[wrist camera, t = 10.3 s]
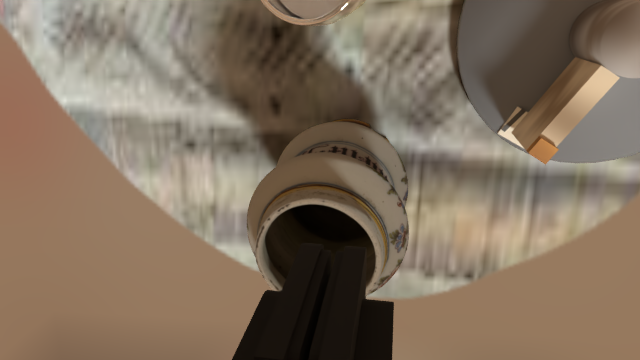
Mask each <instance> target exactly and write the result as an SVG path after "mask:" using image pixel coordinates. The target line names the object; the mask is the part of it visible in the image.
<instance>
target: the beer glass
mask: <svg viewBox="0 0 640 360" xmlns="http://www.w3.org/2000/svg"><path fill="white" fill-rule="evenodd" d="M365 1H366V0H261V2H262V3H263V4H264V6H265V7H266V8H267V9H268V10H269V11H270V12H271V13H273V14H274V15H275V16H277V17H278V18H280V19H282V20H284V21H286V22H289V23H292V24H297V25H307V26H322V25H329V24H332V23H335V22H337V21H340V20H342V19H343V18H345V17H347V16H348V15H349V14H351V13H352V12H353V11H355V10H356V9H358V8H359V7H360V6H362V5H363V4H364V3H365Z"/></svg>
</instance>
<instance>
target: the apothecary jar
mask: <svg viewBox="0 0 640 360" xmlns="http://www.w3.org/2000/svg"><path fill="white" fill-rule="evenodd" d="M407 196H408V180H407V175H406V171H405V168H404V165H403V162H402V160H401V158H400V156H399V155H398V153H397V151H396V150H395V149H394V147H393V146H392V145H391V144H390V143H389V141H388V140H387V138H386V137H383V136H381V135H380V134H378V133H377V132H375V131H373V130H372V129H371V127H370V125H369V124H367V123H365V122H362V121H358V120H353V119H341V120H335V121H332V122H327V123H322V124H318V125H315V126H313V127H310V128H308V129H306V130H305V131H303V132H301V133H300V134H299V135H297V136H296V137H295V138H294V139H293V140H292V141H291V142H290V143H289V144H288V145H287V146H286V148H285V149H284V151H283V152H282V154H281V156H280V158H279V161H278V163H277V167H276V168H275V169H273V170H272V171H271V172H270V173H269V174H267V175H266V176H265V178H264V179H263V180H262V181H261V182H260V184H259V185H258V187H257V188H256V190H255V192H254V194H253V196H252V198H251V201H250V204H249V208H248V214H247V232H248V238H249V242H250V245H251V248H252V251H253V253H254V255H255V257H256V261H257V265H258V268H259V270H260V272H261V274H262V276H263V278H264V279H265V281H266V282H267V284H268V285H269V286H270V287H271V288H272V289H273V291H281V290H282V288H283V286H284V283H285V281H286V279H287V276H288V274H289V271H290V269H291V267H292V264H293V262H294V260H295V257H296V255H297V252H298V250H299V248H300V245H301V244H302V243H313V244H323V246H324V250H330V251H331V270H332V266H333V262H334V259H335V255H336V252H337V251H344V249H345V246H353V247H366V248H367V262H366V296H367V295H369V294H371V293H373V292H374V291H376V290H378V289H379V288H380V287H382V286H383V285H384V284H386V283H387V282H388V281H389V280H390V278H391V277H392V276H393V275H394V274H395V272H396V271H397V270H398V268H399V266H400V265H401V263H402V261H403V258H404V256H405V253H406V250H407V246H408V239H409V225H408V218H407V214H406V210H405V205H406V201H407Z"/></svg>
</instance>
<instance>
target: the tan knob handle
mask: <svg viewBox="0 0 640 360" xmlns="http://www.w3.org/2000/svg"><path fill="white" fill-rule="evenodd" d="M569 44H570V49H571V51H572V53H573V55H574V56H575V58H574V59H573V60H572V61H571V63H570V64H569V65H568V66H567V67H566V69H565V70H564V71H563V72H562V73H561V74H560V76H559V77H558V78H557V79H556V80H555V82H554V83H553V84H552V85H551V86H550V87H549V89H548V90H547V91H546V92H545V93H544V94H543V96H542V97H541V98H540V99H539V100H538V102H537V103H536V104H535V105H534V106H533V107H532V109H531V110H530V111H529V112H528V113H527V114H526V116H525V117H524V118H523V119H522V120H521V122H520V123H519V124H518V125H517V126H516V127H515V129H514V130H513V131H512V132H511V133H512V134H513V135H514V137H515V138H516V139H517V140H518V141H519V143H520V144H521V145H522V146H523V147H524V149H525V150H526V151H527V152H528V153H529V154H530V155H532V156H534V157H535V158H537V159H538V160H540V161H541V162H543V163H544V164H546V163H547V162H548V161H549V160H550V159H551V158H552V157H553V156H554V154H555V153H556V152H557V151H558V150H559V149H558V148H557V146H558V145H559V144H560V143H561V142H562V140H563V139H564V138H565V137H566V136H567V135H568V134H569V133H570V132H571V131H572V130H573V128H574V127H575V126H576V125H577V124H578V123H579V122H580V121H581V120H582V119H583V118H584V117H585V115H586V114H587V113H588V112H589V111H590V110H591V109H592V108H593V107H594V106H595V105H596V103H597V102H598V101H599V100H600V99H601V98H602V97H603V96H604V95H605V94H606V93H607V91H608V90H609V89H610V88H611V87H612V86H613V85H614V84H615V83H616V82H617V81H618V79H619V77H618V76H617V75H619V76H622V77H626V78H640V0H604V1H600V2H597V3H595V4H593V5H591V6H589V7H588V8H587V9H585V10H584V11H583V12H582V13H581V14H580V15H579V16H578V17H577V19H576V20H575V22H574V23H573V25H572V28H571V31H570V35H569ZM615 74H616V75H615Z"/></svg>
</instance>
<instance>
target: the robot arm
mask: <svg viewBox="0 0 640 360" xmlns="http://www.w3.org/2000/svg"><path fill="white" fill-rule="evenodd" d="M366 262H367V248H366V247H353V246H345V249H344V251H337V252H336V255H335V259H334V262H333V266H332V270H331V251H330V250H324V246H323V244H313V243H302V244H301V245H300V248H299V250H298V252H297V255H296V257H295V260H294V262H293V264H292V267H291V269H290V271H289V274H288V276H287V279H286V281H285V283H284V286H283V288H282V290H281V291H272V290H267V291H265V293H264V294H263V296H262V298H261V300H260V302H259V304H258V306H257V308H256V310H255V313H254V315H253V317H252V319H251V321H250V323H249V325H248V327H247V329H246V331H245V333H244V336H243V338H242V340H241V342H240V344H239V346H238V348H237V350H236V352H235V354H234V356H233V359H232V360H392V342H393V310H394V302H388V301H378V300H367V299H366Z"/></svg>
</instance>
